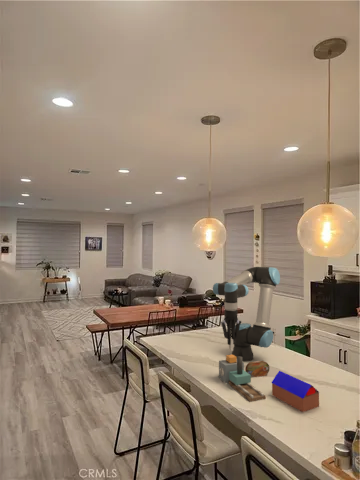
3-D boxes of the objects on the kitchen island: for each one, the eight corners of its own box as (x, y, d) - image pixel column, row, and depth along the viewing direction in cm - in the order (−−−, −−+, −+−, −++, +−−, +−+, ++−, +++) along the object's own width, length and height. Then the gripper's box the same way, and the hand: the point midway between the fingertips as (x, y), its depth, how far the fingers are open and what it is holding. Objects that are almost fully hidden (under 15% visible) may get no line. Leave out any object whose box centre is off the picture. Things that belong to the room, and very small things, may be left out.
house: (287, 390, 169) (287, 368, 169) (320, 406, 152) (319, 382, 152) (271, 395, 163) (271, 372, 164) (303, 413, 146) (303, 387, 146)
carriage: (229, 379, 176) (229, 355, 177) (243, 376, 180) (242, 353, 180) (236, 384, 169) (236, 360, 169) (250, 382, 172) (250, 358, 172)
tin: (247, 378, 184) (247, 363, 185) (244, 376, 188) (244, 361, 188) (269, 375, 189) (269, 361, 189) (267, 373, 192) (266, 359, 192)
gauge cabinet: (236, 375, 189) (236, 358, 189) (244, 380, 181) (243, 362, 182) (218, 378, 185) (218, 360, 185) (224, 383, 177) (224, 365, 177)
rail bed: (228, 383, 177) (228, 379, 177) (242, 381, 180) (242, 376, 180) (250, 401, 156) (250, 396, 156) (265, 398, 159) (265, 393, 159)
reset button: (232, 359, 186) (232, 354, 186) (236, 362, 182) (236, 356, 182) (226, 360, 185) (226, 355, 185) (229, 363, 181) (229, 357, 181)
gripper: (237, 307, 190) (237, 347, 189) (218, 308, 185) (218, 349, 185) (244, 309, 183) (244, 350, 182) (224, 311, 178) (224, 353, 178)
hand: (231, 350), depth 183 cm, fingers closed
